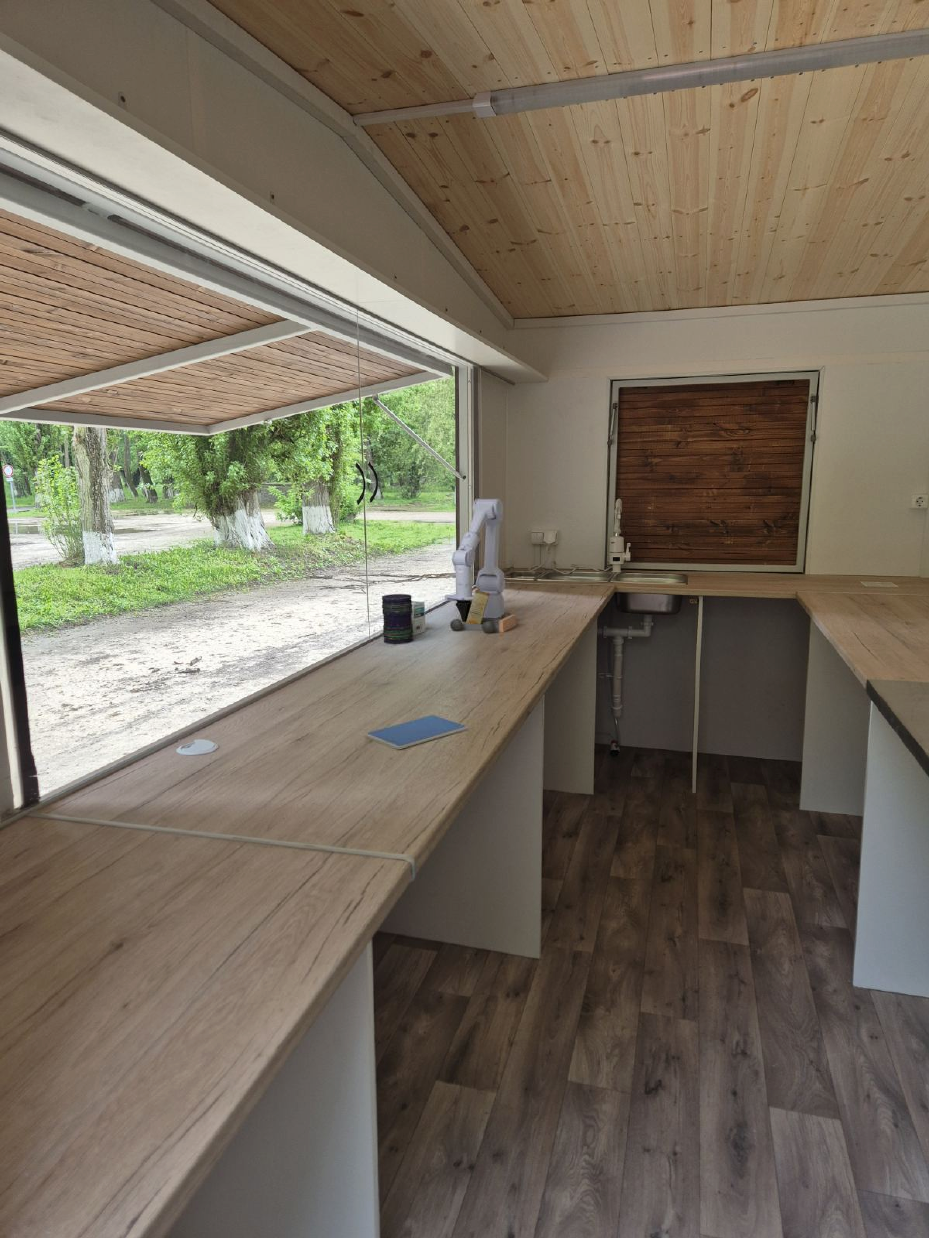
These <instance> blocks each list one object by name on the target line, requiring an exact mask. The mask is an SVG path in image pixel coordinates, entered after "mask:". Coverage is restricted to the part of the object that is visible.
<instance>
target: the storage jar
mask: <svg viewBox="0 0 929 1238" xmlns="http://www.w3.org/2000/svg"><path fill="white" fill-rule="evenodd" d="M381 600H382V601H381V608H382V609H381V610H382V611H381V612H382V616H383V625H382V628H383V629H382V635H383V643H384V644H387V645H406V644H410V643H413V642H414V635H413V625H412V617H411V613H412V601H413V600H412V595H411V594H405V593H396V594H395V593H393V594H392V593H391V594H385V595H382V596H381Z"/></svg>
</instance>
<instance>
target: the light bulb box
mask: <svg viewBox="0 0 929 1238" xmlns="http://www.w3.org/2000/svg"><path fill="white" fill-rule="evenodd" d="M411 617H412V625H413V636H417V635H419V634H422V633H426V632H427V631H426V630H427V629H426V628H427V627H426V607H425V601H419V600H418V601H416V600H412V613H411Z"/></svg>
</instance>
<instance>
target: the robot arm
mask: <svg viewBox="0 0 929 1238" xmlns="http://www.w3.org/2000/svg"><path fill="white" fill-rule="evenodd" d="M472 513H473V517H472V520H471V524H470V527H469V530H468V532H467V531H466V532H465V533H464V534H463V537H462V540H461V541H460V544H459V547H458V549H457V550H455V551H454V552H453V553H452V558H451V562H452V566H453V570H454V572H455V594H445V595H444V602H448V601H449V602H456V603H455V607H456V608H457V610H458V612H459V615H460V618H461V622H462V623H465V622H466V621H467V618H468V614H469V611H470V607H471V604H472V600H473V597H474V594H473V574H472V573H473V571H472V568H473V567H472V566H474V563H475V560H476V550H477V547H478V544H479V542H480V537H479V534H480V532H481V530H482V529H483V526H484V525H485V538H484V539H485V542H484V543H485V544H484V561H483V567H482V568H480V570H479V571H478V572H477V578H476V581H475V586H476V590H480V591H483V592H486V593H490V595H489V598H488V602H487V605H486V608H485V612H484V615H483V618H485V619H499V618H501V616H502V615H503V614H504V613H505V612H504V611H505V609H504V608H505V607H504V606H505V605H504V603H505V599H504V596H503V592H504V590H505V587H506V580H505V573H504V572H503V571H502V569H500V568H499V548H500V546H499V545H500V528H501V527H500V526H501V522H503V519H504V504H503V501H502V500H501V499H500V498H476V499H474V501H473V503H472Z"/></svg>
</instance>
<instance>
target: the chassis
mask: <svg viewBox="0 0 929 1238" xmlns="http://www.w3.org/2000/svg"><path fill="white" fill-rule="evenodd" d="M516 618H517V615H516V614H512V613H510V612H504V614H503V615H502V616H501V617H500V619H499V618H483V619H482V622H481V624H466V622H462V619H461V620H460V619H459V618H456V619H453V620H452V621H450V629H451V630H452V631H454V632H459V631H460V630H463V631H464V630H465V631H479V632H483V633H485V634H491V633H493V632H495V633H504V632H507V631H508V630H511V629H514V628H515V627H516V626H517V622H516V621H517V619H516Z"/></svg>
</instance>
